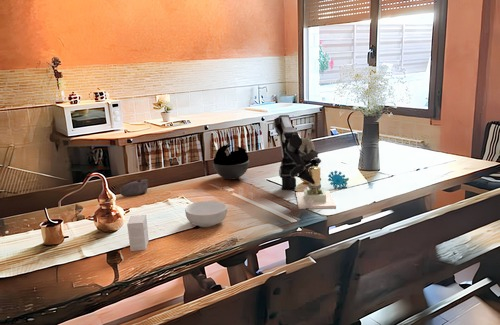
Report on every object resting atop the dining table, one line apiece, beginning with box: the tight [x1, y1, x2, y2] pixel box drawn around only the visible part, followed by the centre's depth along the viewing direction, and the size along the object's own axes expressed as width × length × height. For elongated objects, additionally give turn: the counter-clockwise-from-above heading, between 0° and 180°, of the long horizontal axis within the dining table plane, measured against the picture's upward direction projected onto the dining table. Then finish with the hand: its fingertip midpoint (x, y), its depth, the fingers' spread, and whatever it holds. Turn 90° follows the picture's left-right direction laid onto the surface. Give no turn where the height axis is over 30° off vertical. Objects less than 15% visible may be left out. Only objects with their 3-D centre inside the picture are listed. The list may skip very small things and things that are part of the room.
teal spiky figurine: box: [327, 170, 350, 190], centre depth 216 cm, size 11×6×10 cm
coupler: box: [307, 166, 322, 195], centre depth 195 cm, size 6×6×13 cm
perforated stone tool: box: [119, 178, 149, 197], centre depth 217 cm, size 15×5×7 cm, turn 117°
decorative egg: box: [300, 137, 316, 154], centre depth 265 cm, size 12×12×15 cm
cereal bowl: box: [184, 200, 228, 228], centre depth 175 cm, size 17×17×7 cm
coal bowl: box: [212, 144, 250, 180], centre depth 235 cm, size 20×20×19 cm
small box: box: [126, 214, 150, 252], centre depth 156 cm, size 8×6×10 cm
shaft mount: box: [295, 186, 337, 210], centre depth 196 cm, size 16×23×4 cm
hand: (317, 182), depth 194 cm, fingers closed on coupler, 5 cm apart
